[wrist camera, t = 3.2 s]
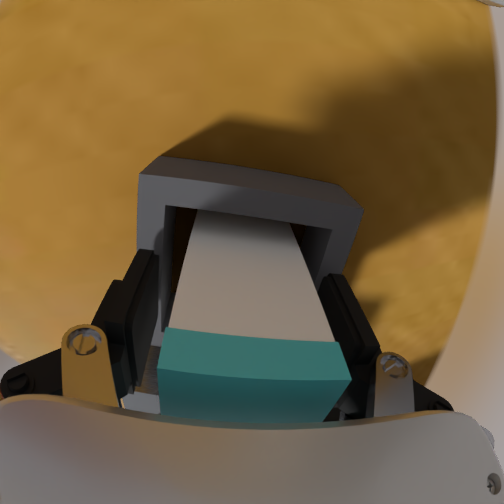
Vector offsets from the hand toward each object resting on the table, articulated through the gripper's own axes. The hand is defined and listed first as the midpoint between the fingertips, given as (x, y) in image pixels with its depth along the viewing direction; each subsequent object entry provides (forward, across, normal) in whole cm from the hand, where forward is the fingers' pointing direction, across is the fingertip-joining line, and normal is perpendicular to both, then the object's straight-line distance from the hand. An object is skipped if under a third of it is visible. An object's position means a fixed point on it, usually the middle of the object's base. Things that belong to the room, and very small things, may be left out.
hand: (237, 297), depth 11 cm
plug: (+4, 0, 0) cm, 4 cm away
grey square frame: (+4, 0, 0) cm, 4 cm away
